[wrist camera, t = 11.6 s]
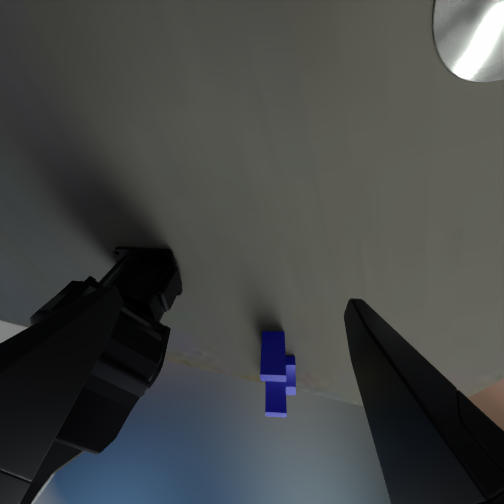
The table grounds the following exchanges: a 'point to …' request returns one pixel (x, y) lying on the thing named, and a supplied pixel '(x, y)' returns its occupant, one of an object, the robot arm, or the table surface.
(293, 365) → the blue stepped block
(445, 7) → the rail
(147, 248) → the robot arm
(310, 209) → the table surface
